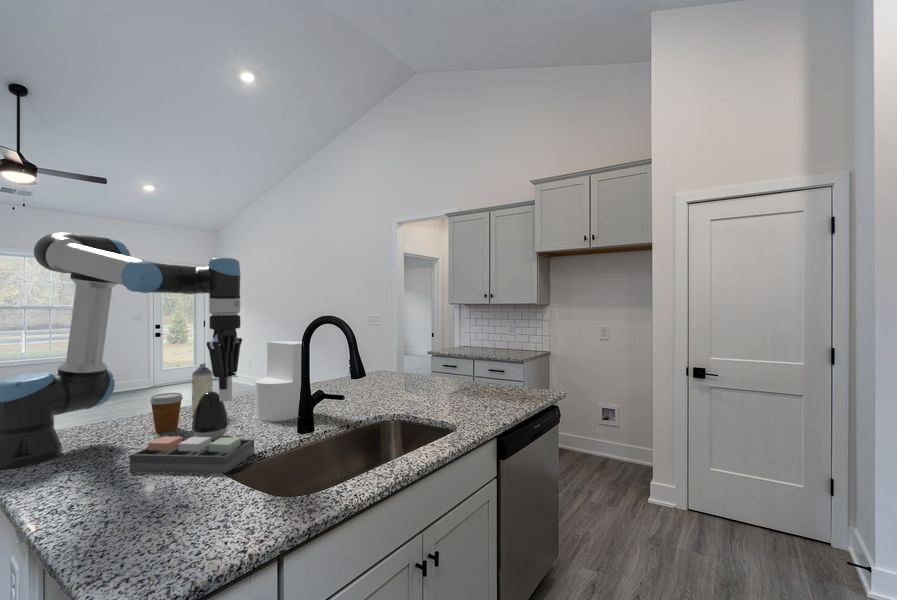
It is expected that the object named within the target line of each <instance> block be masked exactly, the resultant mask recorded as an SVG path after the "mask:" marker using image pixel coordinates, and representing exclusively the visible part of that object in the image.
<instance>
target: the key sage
mask: <svg viewBox="0 0 897 600" xmlns="http://www.w3.org/2000/svg"><path fill="white" fill-rule="evenodd" d="M240 445H241V437H220V438H219V439H218V440H216V441H214V442H212V443H210V444H209V452H230V451H231V450H233V449H235V448H236V447H238V446H240Z"/></svg>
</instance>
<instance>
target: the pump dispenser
mask: <svg viewBox="0 0 897 600" xmlns="http://www.w3.org/2000/svg"><path fill="white" fill-rule="evenodd" d="M228 427H229V418H228V411H227V410H226V406H225V404H224V401H219V392H215V391H213V390H212V391H210V392H207V393H205V394H203V395H202V397H201V398H200V400H199V402H198V404H197V407H196V410H195V413H194V417H192V423H191V431H192V432H193V433H192V434H193V437H211V439H219V438H223V437H224V435H225V434H226V432H227V429H228Z"/></svg>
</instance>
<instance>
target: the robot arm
mask: <svg viewBox="0 0 897 600" xmlns="http://www.w3.org/2000/svg"><path fill="white" fill-rule="evenodd" d="M33 256H34V258H35V260H36V262H37V263H38V264H39V265H40V266H42V267H43V268H45V269H46V270H49V271H53V272H56V273H62V274H70V277H69V278H70V280H71V281H73V283H74V284H75V289H74V290H75V291H74V300H73V306H72V312H71V313H72V314H71V320H70V329H69V336H68V343H67V349H66V350H67V352H66V360H65V362H63V363H62V364H60V365H59V366H58V368H57V374H56V375H55V374H54V373H53V372H52V371H40V372H39V371H38V372H33V373H25V374H21V375H15V376H12V377H9V378H6V379H3V380H2V381H0V470H5V469H14V468H21V467H26V466H29V465H31V466H32V465H35V464H38V463H43V462H46V461H49V460H52V459H54V458H56V457H58V456H60V455H61V454H63V444H62V442H61V441H60V438H59V435H58V434H57V431H56V429H55V416H58V415H63V414H67V413H71V412H72V413H73V412H77V411H81V410H82V411H83V410H89V409H92V408H94V407H97V406H98V407H99V406H101V405H103V404H105V403H106V402H108V401H109V399H110V398H111V397H112V395H113V393H114V390H115V385H116V383H115V378H114V375H113V373H112V372H111V371H110V370H109V369H108V365H106V364H105V363H104V361H103V356H104V349H105V342H106V336H107V328H108V321H109V314H110V305H111V300H112V299H111V298H112V291H113V288H114V287H116V285H122V286H124V287H125V288H126V289H127V290H129V291H131V292H134V293H136V292H137V293H141V294H150V293H155V294H156V293H158V294H161V293H162V294H163V293H167V294H181V295H182V294H185V295H195V294H196V295H197V294H209V295H208V296H209V298H208V299H209V301H208V302H209V305H208V306H209V307H208V308H209V309H208V310H209V311H208V313H209V314H211V315H210V316H209V329H210V330H213V334H212V340H211V341H207V342H206V347H207V349H208V351H209V358H210V364H211V371H212V377H215V378H218V388H219V389H218V390H219V391H218V394H219V401H223V402H230V401H232V400H233V377H235V376H237V372H238V367H239V358H240V352H241V345H242V343H243V338H241V337H238V333H237V330H238V329H240V328H241V316H240V315H239V314H240V313H241V305H242V304H241V276H242V274H241V266H240V261H239V260H238V259H236V258H230V257H213V258H212V257H211V258H210V259H209V261H208V262H209V263H208V266H191V265H180V264H166V263H161V262H160V263H158V262H153V261H149V260H144V259H141V258H136V257H132V255H131V253H130V251H129V249H128V248H127V246H126V245H125V244H124V243H123V242H122V241H120V240H116V239H113V238H109V237H104V236H103V237H101V236H96V235H95V236H94V235H93V236H92V235H87V234H78V233H71V232H54V233H49V234H46V235H44V236H42V237H41V238H40V239H39V240H38V241H36V243H35V245H34V248H33Z"/></svg>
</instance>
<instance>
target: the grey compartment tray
mask: <svg viewBox="0 0 897 600" xmlns="http://www.w3.org/2000/svg"><path fill="white" fill-rule="evenodd" d="M187 439H189V438H187V437H186V438H185V437H184V438H183V441H185V440H187ZM216 440H218V439H211V443H212V442H214V441H216ZM254 454H255V439H247V438H245V439H241V445H240V446H238V447H236V448H235V449H233V450H231V451H230V452H209V446H208V447H206V448H204V449H202V450H200V451H178V446H177V447H175V448H173V449H171V450H169V451H153V450H148V447H145V448H143V449H141V450H137V451H136V452H134V453H131V454H129V471H134V472H135V471H137V472H175V473H178V472H179V473H180V472H181V473H183V472H184V473H213V474H214V473H215V474H216V473H218V474H219V473H222V474H225V473H228V472H229V471H231V470H232V469H233V468H235V467H236V466H238V465H239V464H241V463H242V462H244V461H245V460H247V459H248V458H251V456H252V455H254Z"/></svg>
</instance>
